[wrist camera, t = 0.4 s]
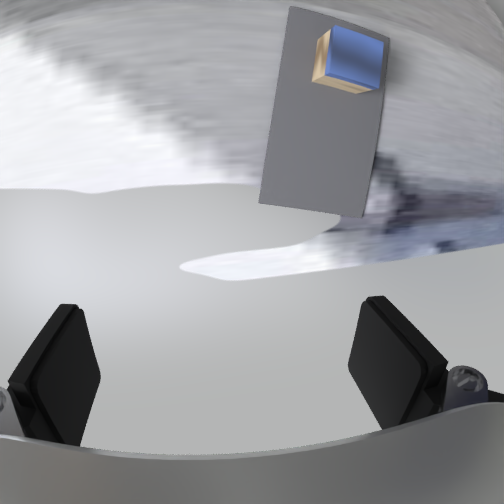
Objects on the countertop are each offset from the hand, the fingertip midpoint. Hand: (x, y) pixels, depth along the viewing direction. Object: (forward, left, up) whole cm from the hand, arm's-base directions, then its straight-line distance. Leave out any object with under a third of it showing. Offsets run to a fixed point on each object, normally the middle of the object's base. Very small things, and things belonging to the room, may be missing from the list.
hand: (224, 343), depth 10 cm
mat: (-12, +13, -30) cm, 35 cm away
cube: (-18, +13, -29) cm, 37 cm away
